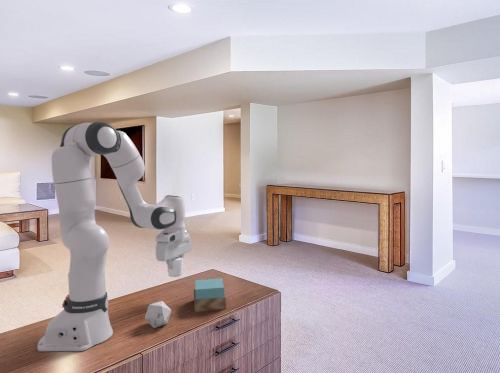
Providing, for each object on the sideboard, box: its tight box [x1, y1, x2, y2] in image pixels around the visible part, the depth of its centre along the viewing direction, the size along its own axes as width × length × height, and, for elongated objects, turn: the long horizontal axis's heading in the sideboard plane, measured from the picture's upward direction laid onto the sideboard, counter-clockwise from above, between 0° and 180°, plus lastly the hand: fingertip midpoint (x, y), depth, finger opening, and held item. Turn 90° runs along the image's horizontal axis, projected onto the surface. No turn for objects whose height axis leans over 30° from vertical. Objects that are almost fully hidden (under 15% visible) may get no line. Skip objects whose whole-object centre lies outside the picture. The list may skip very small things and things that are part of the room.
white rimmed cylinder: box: [166, 256, 184, 278], centre depth 151 cm, size 7×7×7 cm
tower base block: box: [193, 288, 227, 313], centre depth 146 cm, size 12×12×5 cm
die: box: [144, 300, 172, 329], centre depth 129 cm, size 8×9×10 cm
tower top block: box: [194, 278, 225, 300], centre depth 145 cm, size 11×11×4 cm
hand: (175, 266), depth 151 cm, fingers closed on white rimmed cylinder, 5 cm apart
